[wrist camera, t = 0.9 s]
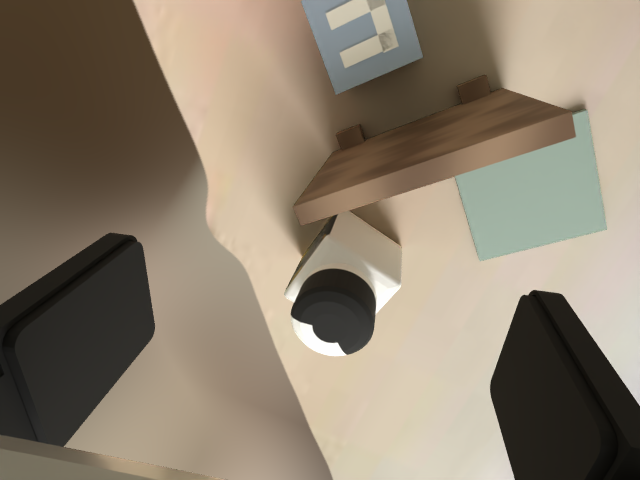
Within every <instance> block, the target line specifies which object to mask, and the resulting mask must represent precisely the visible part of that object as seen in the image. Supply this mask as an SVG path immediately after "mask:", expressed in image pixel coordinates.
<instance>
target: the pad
mask: <svg viewBox="0 0 640 480" xmlns="http://www.w3.org/2000/svg"><path fill="white" fill-rule="evenodd" d="M572 116H573V121H574V127H575V133H576V137H575V138H572V139H569V140H566V141H563V142H560V143H557V144H553V145H550V146H547V147H544V148H541V149H538V150H535V151H532V152H529V153H526V154H522V155H519V156H516V157H513V158H510V159H507V160H504V161H501V162H498V163H495V164H491V165H488V166H485V167H482V168H479V169H476V170H473V171H470V172H467V173H464V174H460V175H457V176H455V179H456V182H457V185H458V189H459V192H460V196H461V199H462V203H463V206H464V209H465V213H466V216H467V220H468V223H469V226H470V230H471V233H472V237H473V240H474V244H475V247H476V250H477V254H478V257H479V260H480V261H483V260H487V259H491V258H495V257H499V256H503V255H507V254H511V253H515V252H519V251H523V250H527V249H531V248H535V247H539V246H543V245H547V244H551V243H555V242H559V241H563V240H567V239H571V238H575V237H579V236H583V235H587V234H591V233H595V232H599V231H603V230H607V226H606V220H605V214H604V208H603V202H602V196H601V190H600V184H599V178H598V172H597V165H596V159H595V153H594V147H593V141H592V135H591V129H590V123H589V117H588V111H587V110H586V109H583V110H580V111H577V112H574V113H572Z"/></svg>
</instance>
